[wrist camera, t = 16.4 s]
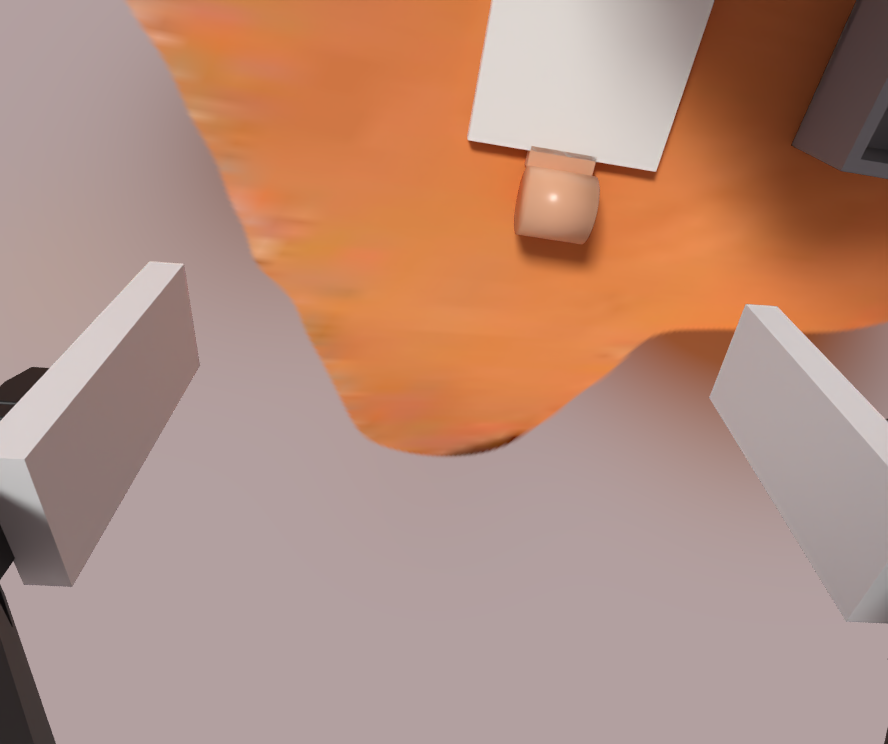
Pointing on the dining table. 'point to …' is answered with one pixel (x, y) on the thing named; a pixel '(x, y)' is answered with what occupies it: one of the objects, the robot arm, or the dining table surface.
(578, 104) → the lid
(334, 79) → the dining table surface
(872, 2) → the tub
